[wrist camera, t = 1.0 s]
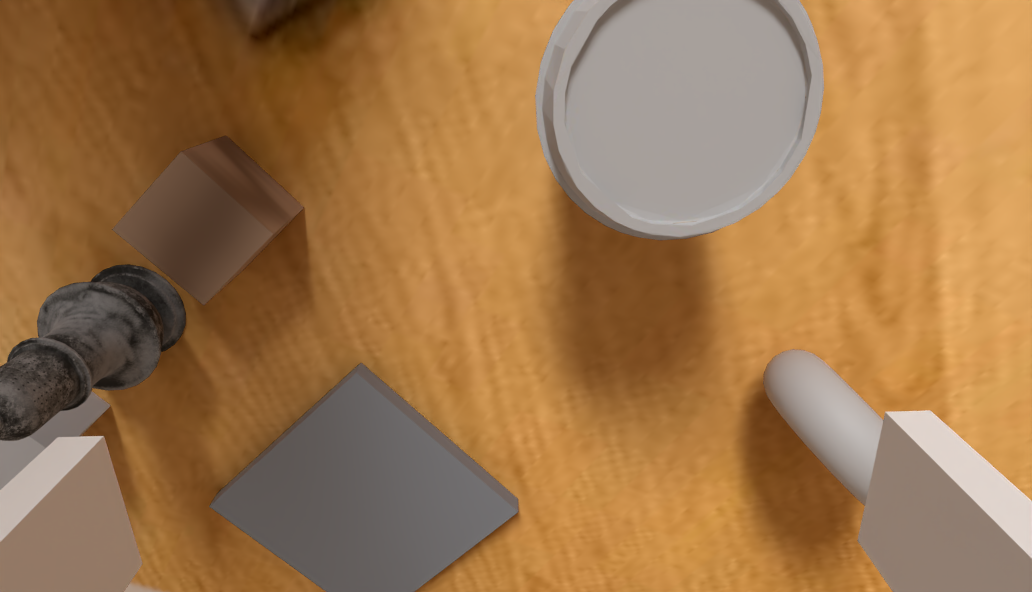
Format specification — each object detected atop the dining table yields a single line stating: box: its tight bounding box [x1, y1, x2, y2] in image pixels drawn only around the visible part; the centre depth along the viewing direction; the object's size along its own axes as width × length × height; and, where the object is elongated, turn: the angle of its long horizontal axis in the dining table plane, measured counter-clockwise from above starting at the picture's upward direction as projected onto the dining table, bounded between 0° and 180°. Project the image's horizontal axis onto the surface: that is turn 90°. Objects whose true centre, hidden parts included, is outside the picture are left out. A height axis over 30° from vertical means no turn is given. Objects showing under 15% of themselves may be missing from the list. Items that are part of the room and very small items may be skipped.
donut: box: [763, 349, 883, 505], centre depth 34 cm, size 10×4×10 cm, turn 46°
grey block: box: [0, 391, 111, 490], centre depth 36 cm, size 5×5×5 cm
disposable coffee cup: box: [535, 0, 824, 240], centre depth 27 cm, size 10×10×12 cm
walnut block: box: [112, 136, 304, 305], centre depth 32 cm, size 5×5×5 cm
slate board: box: [209, 363, 518, 592], centre depth 40 cm, size 13×13×1 cm
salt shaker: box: [0, 265, 186, 441], centre depth 30 cm, size 6×6×12 cm
